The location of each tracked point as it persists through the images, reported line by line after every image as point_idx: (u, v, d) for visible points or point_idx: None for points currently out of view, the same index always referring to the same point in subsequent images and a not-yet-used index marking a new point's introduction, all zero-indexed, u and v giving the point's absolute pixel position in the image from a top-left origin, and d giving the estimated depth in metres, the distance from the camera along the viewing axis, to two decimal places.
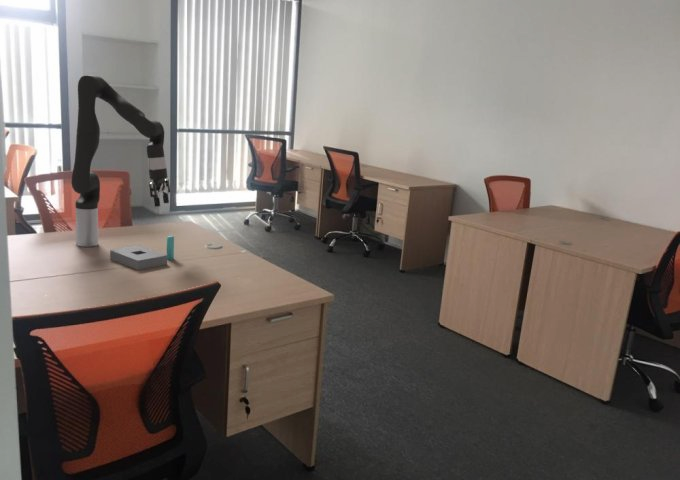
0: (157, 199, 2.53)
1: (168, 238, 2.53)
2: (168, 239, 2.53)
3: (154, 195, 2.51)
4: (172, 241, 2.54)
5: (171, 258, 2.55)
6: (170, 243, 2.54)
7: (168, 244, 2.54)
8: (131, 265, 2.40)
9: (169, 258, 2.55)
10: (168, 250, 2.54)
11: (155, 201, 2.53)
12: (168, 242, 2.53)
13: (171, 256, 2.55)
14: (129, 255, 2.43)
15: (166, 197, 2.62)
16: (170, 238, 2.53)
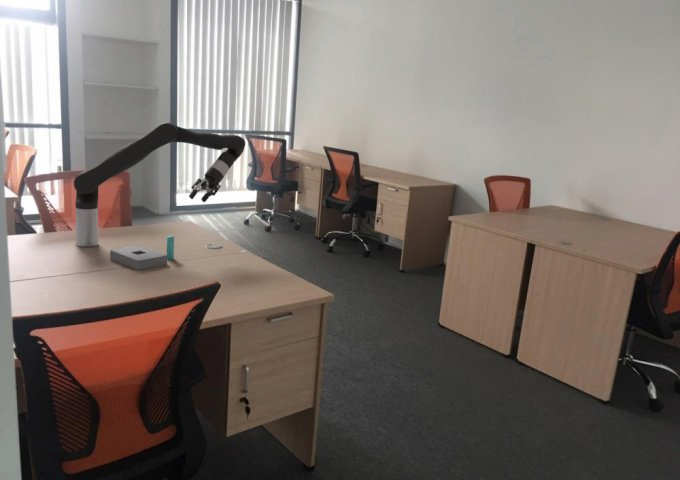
0: (208, 196, 2.60)
1: (168, 238, 2.53)
2: (168, 239, 2.53)
3: (214, 194, 2.59)
4: (172, 241, 2.54)
5: (171, 258, 2.55)
6: (170, 243, 2.54)
7: (168, 244, 2.54)
8: (131, 265, 2.40)
9: (169, 258, 2.55)
10: (168, 250, 2.54)
11: (206, 197, 2.59)
12: (168, 242, 2.53)
13: (171, 256, 2.55)
14: (129, 255, 2.43)
15: (195, 194, 2.65)
16: (170, 238, 2.53)
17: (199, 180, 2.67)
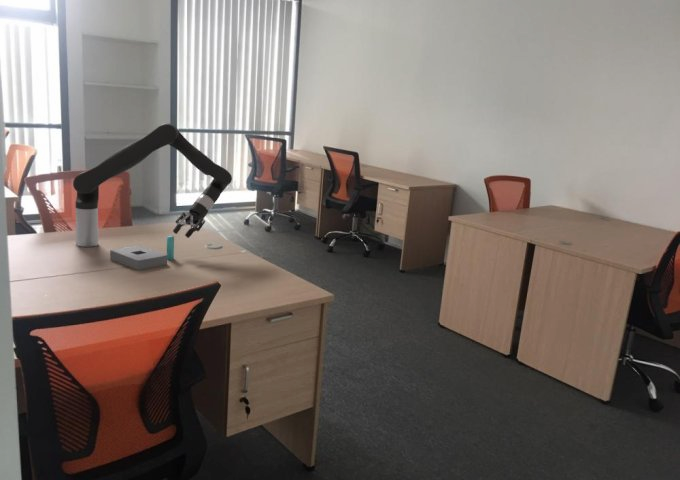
0: (192, 232, 2.57)
1: (168, 238, 2.53)
2: (168, 239, 2.53)
3: (198, 229, 2.57)
4: (172, 241, 2.54)
5: (171, 258, 2.55)
6: (170, 243, 2.54)
7: (168, 244, 2.54)
8: (131, 265, 2.40)
9: (169, 258, 2.55)
10: (168, 250, 2.54)
11: (191, 232, 2.56)
12: (168, 242, 2.53)
13: (171, 256, 2.55)
14: (129, 255, 2.43)
15: (179, 229, 2.62)
16: (170, 238, 2.53)
17: (183, 214, 2.65)
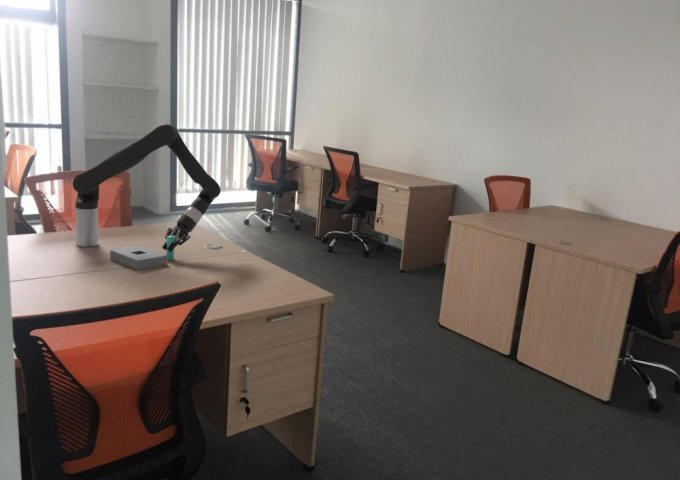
0: None
1: (168, 238, 2.53)
2: (168, 239, 2.53)
3: (180, 244, 2.54)
4: (172, 241, 2.54)
5: (171, 258, 2.55)
6: (170, 243, 2.54)
7: (168, 244, 2.54)
8: (131, 265, 2.40)
9: (169, 258, 2.55)
10: None
11: (173, 246, 2.53)
12: (168, 242, 2.53)
13: (171, 256, 2.55)
14: (129, 255, 2.43)
15: None
16: (170, 238, 2.53)
17: (170, 229, 2.60)
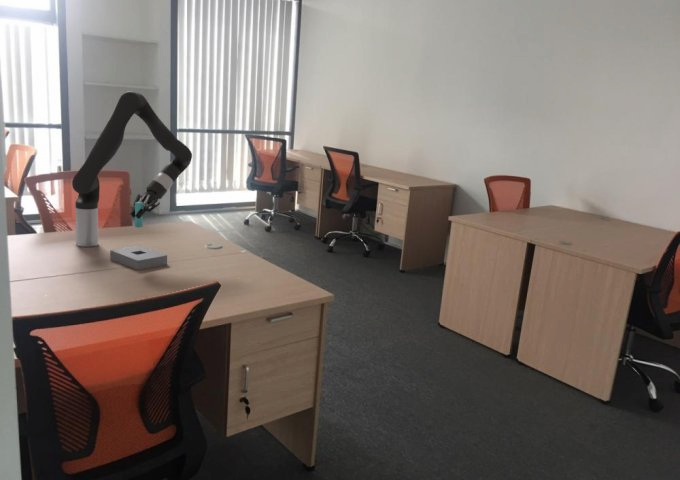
0: (143, 213, 2.43)
1: (136, 204, 2.42)
2: (136, 205, 2.42)
3: (149, 210, 2.42)
4: (140, 207, 2.43)
5: (139, 225, 2.44)
6: (138, 209, 2.42)
7: (136, 210, 2.43)
8: (131, 265, 2.40)
9: (137, 225, 2.44)
10: (136, 217, 2.43)
11: (141, 213, 2.42)
12: (136, 208, 2.42)
13: (139, 223, 2.44)
14: (129, 255, 2.43)
15: None
16: (138, 204, 2.42)
17: (139, 196, 2.49)
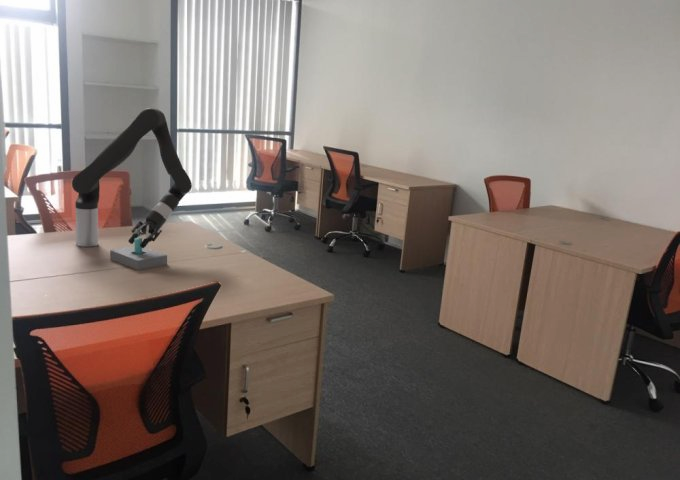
0: None
1: (136, 240, 2.45)
2: (136, 241, 2.45)
3: (154, 239, 2.44)
4: (140, 243, 2.46)
5: None
6: (138, 245, 2.46)
7: (136, 246, 2.46)
8: (131, 265, 2.40)
9: None
10: (136, 253, 2.47)
11: (146, 242, 2.44)
12: (136, 244, 2.46)
13: None
14: (129, 255, 2.43)
15: None
16: (138, 240, 2.45)
17: (140, 223, 2.52)
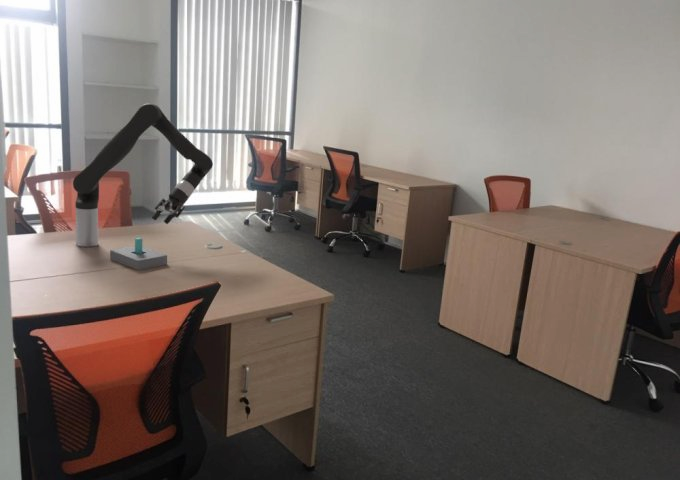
0: (171, 218, 2.52)
1: (136, 240, 2.45)
2: (136, 241, 2.46)
3: (177, 215, 2.51)
4: (140, 243, 2.46)
5: None
6: (138, 245, 2.46)
7: (136, 246, 2.46)
8: (131, 265, 2.40)
9: None
10: (136, 252, 2.47)
11: (169, 218, 2.50)
12: (136, 244, 2.46)
13: None
14: (129, 255, 2.43)
15: (158, 215, 2.57)
16: (138, 240, 2.45)
17: (163, 200, 2.59)
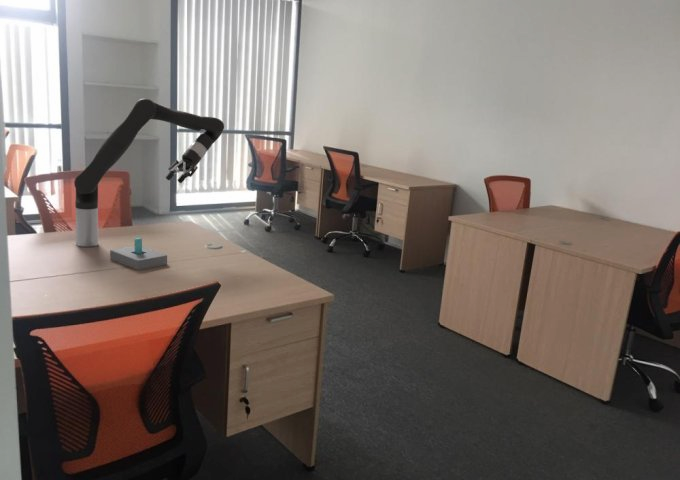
0: None
1: (136, 240, 2.45)
2: (136, 241, 2.45)
3: (191, 175, 2.59)
4: (140, 243, 2.46)
5: None
6: (138, 245, 2.46)
7: (136, 246, 2.46)
8: (131, 265, 2.40)
9: None
10: (136, 252, 2.47)
11: (183, 178, 2.58)
12: (136, 244, 2.46)
13: None
14: (129, 255, 2.43)
15: (171, 175, 2.64)
16: (138, 240, 2.45)
17: (176, 162, 2.67)
